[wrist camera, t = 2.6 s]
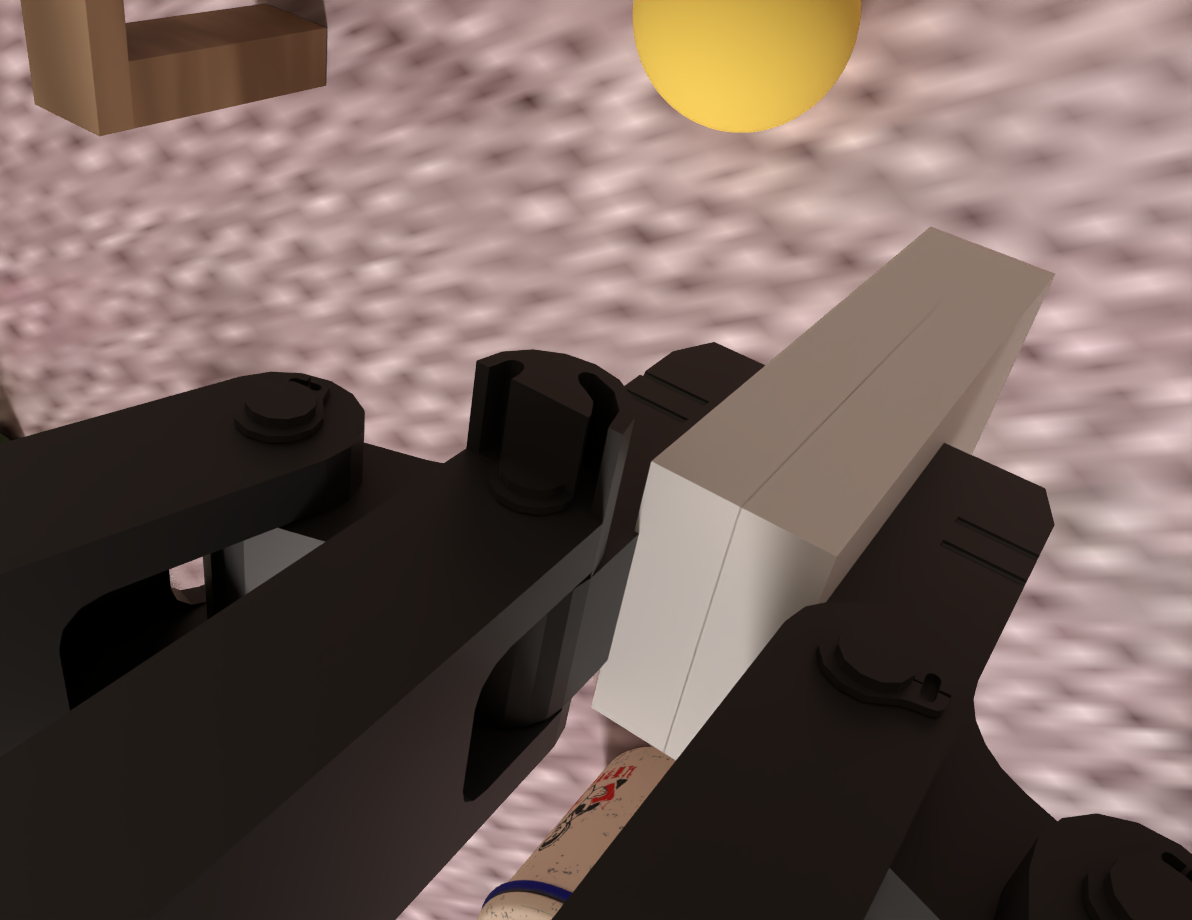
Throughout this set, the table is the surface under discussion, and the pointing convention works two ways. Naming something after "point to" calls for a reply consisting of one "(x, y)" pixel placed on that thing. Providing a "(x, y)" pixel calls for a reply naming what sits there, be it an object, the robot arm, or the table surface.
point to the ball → (744, 56)
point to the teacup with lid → (578, 839)
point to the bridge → (164, 61)
